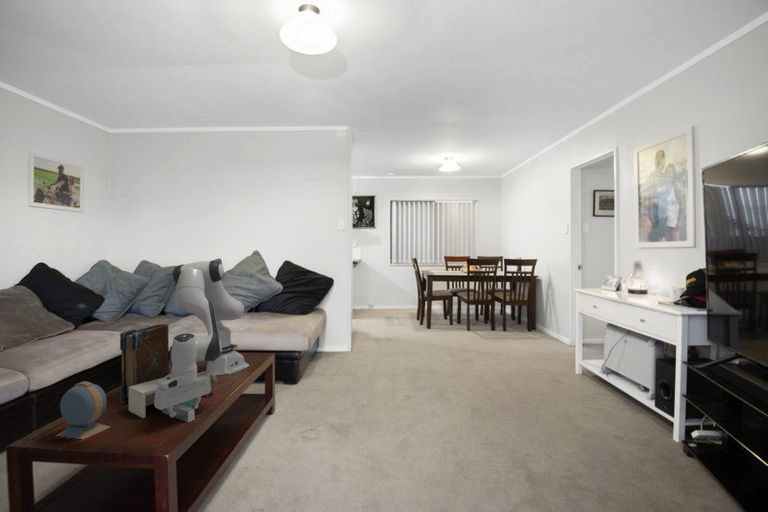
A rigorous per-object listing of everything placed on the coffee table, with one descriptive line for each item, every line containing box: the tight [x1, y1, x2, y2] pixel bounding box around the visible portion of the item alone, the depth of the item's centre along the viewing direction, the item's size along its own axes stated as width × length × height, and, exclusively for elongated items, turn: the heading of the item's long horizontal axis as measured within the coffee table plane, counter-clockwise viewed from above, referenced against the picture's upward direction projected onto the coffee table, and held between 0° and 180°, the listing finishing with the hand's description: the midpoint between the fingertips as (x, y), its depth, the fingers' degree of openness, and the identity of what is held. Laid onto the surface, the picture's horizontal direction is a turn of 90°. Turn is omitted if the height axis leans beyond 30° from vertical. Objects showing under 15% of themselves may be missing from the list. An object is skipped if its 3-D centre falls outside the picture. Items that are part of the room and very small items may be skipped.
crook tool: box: [160, 404, 195, 423], centre depth 142 cm, size 8×18×4 cm, turn 61°
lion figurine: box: [204, 375, 218, 398], centre depth 160 cm, size 15×5×9 cm, turn 112°
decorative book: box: [119, 323, 170, 404], centre depth 164 cm, size 23×7×30 cm, turn 177°
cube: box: [180, 398, 195, 408], centre depth 147 cm, size 5×5×5 cm
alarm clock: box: [55, 381, 111, 441], centre depth 128 cm, size 14×10×18 cm
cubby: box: [128, 378, 162, 419], centre depth 149 cm, size 18×12×10 cm, turn 147°
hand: (184, 412), depth 138 cm, fingers open, 7 cm apart
